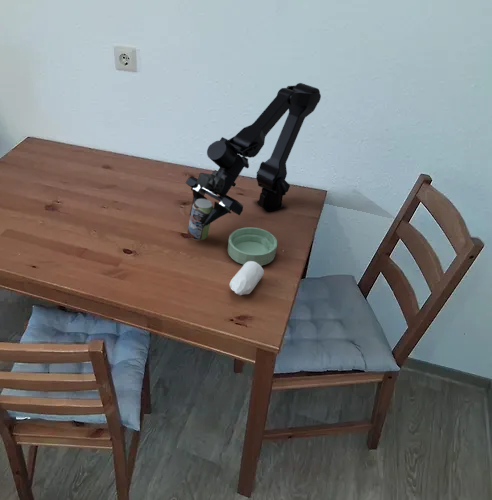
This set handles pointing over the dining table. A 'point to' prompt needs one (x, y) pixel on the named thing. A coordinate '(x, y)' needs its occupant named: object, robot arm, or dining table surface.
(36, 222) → the dining table surface
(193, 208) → the beverage can
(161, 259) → the dining table surface
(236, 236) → the bowl
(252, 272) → the roll
